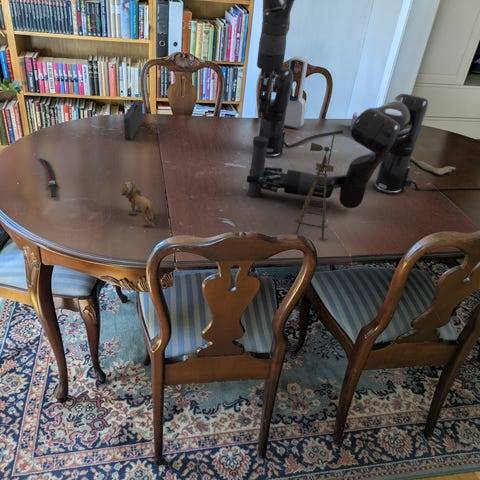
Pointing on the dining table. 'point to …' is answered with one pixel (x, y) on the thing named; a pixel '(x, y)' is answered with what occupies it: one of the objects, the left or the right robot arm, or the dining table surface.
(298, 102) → the electronic device
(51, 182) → the sword
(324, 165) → the miniature windmill
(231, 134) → the dining table surface
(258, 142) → the lid
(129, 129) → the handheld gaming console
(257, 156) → the dark grey cylinder
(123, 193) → the lion figurine
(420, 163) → the jawbone
